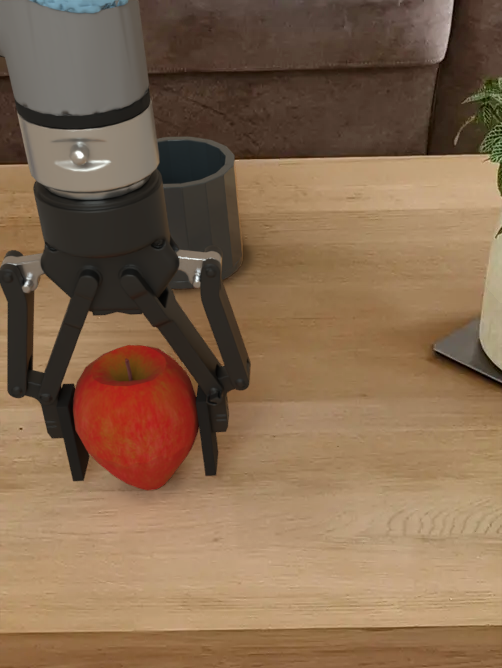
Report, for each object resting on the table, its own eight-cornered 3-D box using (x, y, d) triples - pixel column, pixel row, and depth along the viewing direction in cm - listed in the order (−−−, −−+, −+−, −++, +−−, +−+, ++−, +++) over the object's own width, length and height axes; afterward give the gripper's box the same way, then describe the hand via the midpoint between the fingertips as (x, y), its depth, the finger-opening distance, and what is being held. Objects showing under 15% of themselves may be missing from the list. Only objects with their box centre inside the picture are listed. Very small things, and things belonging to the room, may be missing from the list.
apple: (95, 448, 87) (69, 325, 81) (210, 440, 88) (194, 319, 82) (82, 524, 81) (54, 397, 74) (207, 515, 82) (190, 390, 75)
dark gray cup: (107, 277, 107) (89, 176, 101) (161, 226, 115) (148, 129, 109) (213, 297, 105) (201, 195, 98) (261, 243, 113) (253, 146, 106)
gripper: (-106, 205, 66) (-18, 507, 80) (275, 198, 68) (295, 494, 82) (-72, 149, 72) (4, 439, 86) (277, 144, 74) (296, 429, 88)
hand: (146, 466), depth 84 cm, fingers closed on apple, 8 cm apart
